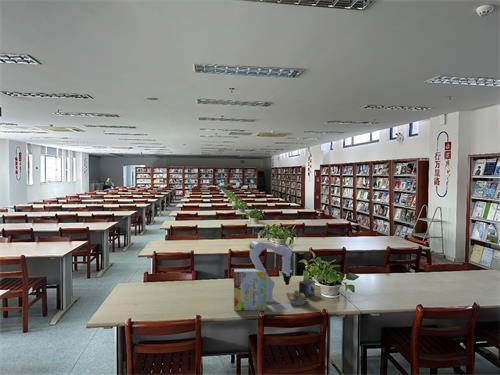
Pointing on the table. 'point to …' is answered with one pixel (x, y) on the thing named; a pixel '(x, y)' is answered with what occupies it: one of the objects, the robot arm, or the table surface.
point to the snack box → (249, 289)
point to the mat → (281, 308)
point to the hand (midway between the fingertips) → (286, 283)
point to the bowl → (297, 302)
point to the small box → (307, 287)
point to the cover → (296, 296)
